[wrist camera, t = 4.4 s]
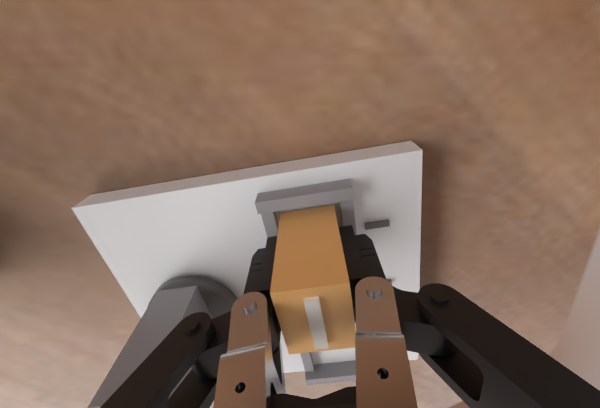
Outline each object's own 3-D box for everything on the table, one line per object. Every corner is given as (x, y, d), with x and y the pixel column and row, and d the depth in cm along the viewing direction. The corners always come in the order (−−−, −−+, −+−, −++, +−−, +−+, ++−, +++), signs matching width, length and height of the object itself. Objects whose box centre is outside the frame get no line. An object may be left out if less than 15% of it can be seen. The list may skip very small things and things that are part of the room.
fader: (280, 212, 14) (268, 297, 9) (333, 205, 14) (350, 287, 9) (292, 263, 15) (288, 359, 11) (341, 257, 15) (358, 352, 10)
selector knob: (138, 282, 16) (39, 422, 10) (227, 270, 16) (179, 409, 10) (173, 341, 19) (110, 484, 12) (251, 333, 18) (226, 476, 12)
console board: (90, 194, 16) (56, 218, 13) (411, 140, 14) (431, 157, 12) (189, 363, 23) (177, 397, 20) (410, 339, 21) (423, 373, 19)
